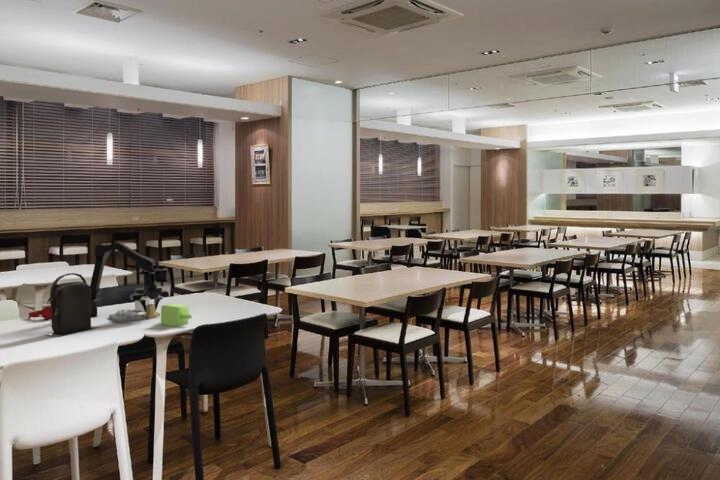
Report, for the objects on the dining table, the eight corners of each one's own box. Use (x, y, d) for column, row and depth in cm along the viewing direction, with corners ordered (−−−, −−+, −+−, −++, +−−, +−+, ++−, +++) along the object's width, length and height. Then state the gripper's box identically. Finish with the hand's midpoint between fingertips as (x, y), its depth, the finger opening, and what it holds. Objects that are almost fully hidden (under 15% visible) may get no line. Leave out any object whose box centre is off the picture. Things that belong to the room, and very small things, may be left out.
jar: (138, 312, 318) (137, 290, 317) (132, 309, 324) (131, 288, 323) (154, 309, 324) (153, 288, 323) (147, 307, 330) (147, 286, 329)
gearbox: (197, 325, 288) (197, 306, 288) (182, 328, 280) (182, 308, 279) (172, 320, 297) (172, 302, 297) (157, 323, 289) (157, 304, 288)
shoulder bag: (89, 325, 287) (87, 269, 285) (100, 327, 282) (98, 270, 280) (44, 335, 268) (41, 275, 266) (55, 337, 263) (52, 277, 261)
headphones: (73, 315, 310) (49, 317, 319) (71, 302, 309) (47, 304, 319) (47, 320, 296) (23, 322, 305) (45, 307, 296) (21, 309, 305)
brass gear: (144, 318, 301) (144, 307, 300) (139, 315, 308) (138, 304, 308) (162, 316, 306) (161, 305, 306) (156, 313, 314) (156, 302, 313)
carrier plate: (118, 323, 290) (117, 313, 289) (109, 317, 304) (108, 307, 304) (144, 320, 297) (144, 309, 297) (134, 314, 312) (134, 304, 311)
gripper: (135, 286, 294) (136, 316, 295) (171, 282, 305) (173, 311, 306) (129, 283, 302) (130, 312, 304) (164, 280, 314) (166, 308, 315)
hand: (150, 311), depth 307 cm, fingers closed on brass gear, 5 cm apart
